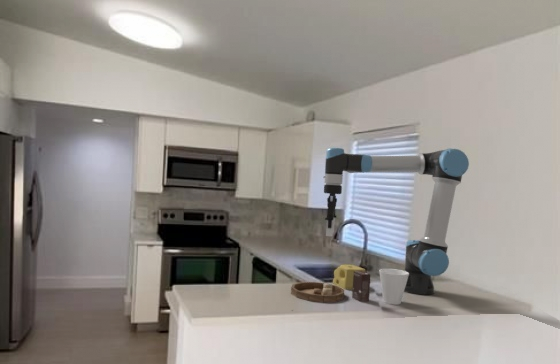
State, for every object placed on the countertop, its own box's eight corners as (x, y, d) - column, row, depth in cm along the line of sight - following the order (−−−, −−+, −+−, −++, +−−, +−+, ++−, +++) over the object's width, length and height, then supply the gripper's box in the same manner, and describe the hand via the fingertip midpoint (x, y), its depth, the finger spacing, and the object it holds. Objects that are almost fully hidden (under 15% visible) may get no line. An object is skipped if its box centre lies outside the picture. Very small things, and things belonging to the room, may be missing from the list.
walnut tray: (343, 293, 182) (343, 285, 182) (343, 307, 161) (344, 298, 161) (294, 288, 185) (294, 280, 185) (288, 301, 164) (289, 292, 164)
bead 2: (331, 297, 170) (332, 288, 170) (331, 299, 166) (332, 290, 166) (322, 296, 170) (323, 287, 170) (322, 298, 167) (322, 289, 167)
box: (351, 300, 171) (353, 270, 171) (360, 300, 173) (362, 270, 173) (359, 305, 166) (362, 274, 166) (369, 304, 168) (371, 273, 168)
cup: (388, 307, 166) (390, 275, 166) (371, 298, 177) (373, 268, 177) (413, 305, 170) (415, 274, 170) (394, 297, 181) (396, 268, 181)
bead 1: (331, 292, 178) (332, 283, 178) (331, 294, 174) (332, 285, 174) (323, 291, 178) (323, 283, 178) (322, 293, 175) (323, 285, 175)
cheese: (332, 286, 193) (333, 264, 193) (352, 285, 198) (353, 264, 198) (345, 292, 184) (346, 269, 184) (365, 291, 188) (367, 268, 188)
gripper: (326, 184, 195) (323, 230, 195) (322, 183, 171) (318, 236, 171) (342, 185, 194) (339, 231, 194) (341, 185, 169) (337, 238, 169)
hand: (330, 234), depth 182 cm, fingers open, 13 cm apart
